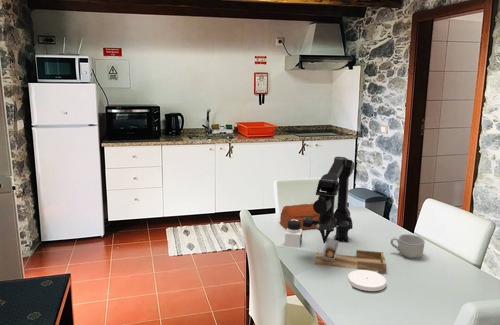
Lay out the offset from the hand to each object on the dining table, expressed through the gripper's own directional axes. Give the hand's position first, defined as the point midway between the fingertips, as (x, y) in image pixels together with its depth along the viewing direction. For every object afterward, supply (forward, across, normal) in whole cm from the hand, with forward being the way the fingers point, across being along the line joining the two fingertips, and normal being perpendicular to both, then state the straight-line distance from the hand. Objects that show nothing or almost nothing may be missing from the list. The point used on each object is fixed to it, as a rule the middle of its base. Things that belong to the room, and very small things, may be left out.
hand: (324, 243), depth 175 cm
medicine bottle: (+9, -14, +14) cm, 22 cm away
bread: (+8, -11, +44) cm, 46 cm away
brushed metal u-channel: (+7, +2, 0) cm, 7 cm away
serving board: (+8, +11, 0) cm, 14 cm away
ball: (+5, +3, 0) cm, 6 cm away
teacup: (+8, +36, +16) cm, 40 cm away
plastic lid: (+9, +17, -16) cm, 25 cm away
